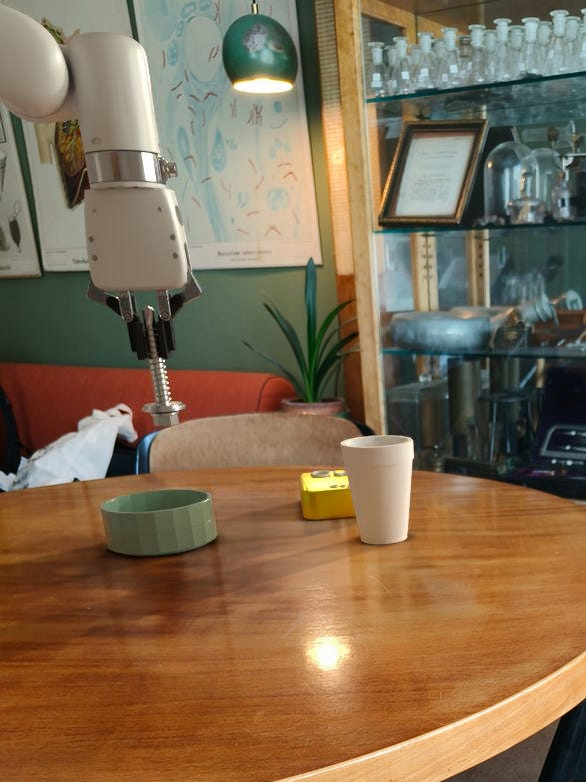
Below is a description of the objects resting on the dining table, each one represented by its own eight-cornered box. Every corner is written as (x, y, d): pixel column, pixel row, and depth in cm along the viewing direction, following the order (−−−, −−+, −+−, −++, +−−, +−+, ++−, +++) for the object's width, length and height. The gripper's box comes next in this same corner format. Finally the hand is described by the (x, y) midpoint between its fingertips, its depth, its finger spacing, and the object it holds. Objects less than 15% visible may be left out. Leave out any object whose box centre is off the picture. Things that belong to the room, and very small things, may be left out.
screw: (135, 427, 101) (163, 421, 105) (170, 428, 100) (196, 422, 104) (114, 306, 96) (144, 305, 101) (150, 305, 95) (179, 304, 99)
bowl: (95, 561, 114) (86, 515, 111) (124, 533, 127) (116, 491, 124) (207, 554, 115) (200, 509, 113) (225, 527, 128) (219, 486, 126)
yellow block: (303, 521, 130) (299, 489, 128) (301, 499, 143) (297, 470, 141) (404, 513, 132) (402, 481, 130) (393, 492, 146) (391, 463, 144)
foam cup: (360, 551, 114) (351, 450, 109) (340, 534, 122) (331, 439, 117) (428, 541, 118) (423, 442, 113) (405, 525, 125) (399, 433, 121)
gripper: (209, 178, 97) (231, 353, 104) (58, 181, 95) (91, 359, 102) (198, 170, 90) (222, 358, 97) (35, 172, 88) (72, 364, 95)
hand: (155, 357), depth 100 cm, fingers closed on screw, 2 cm apart
